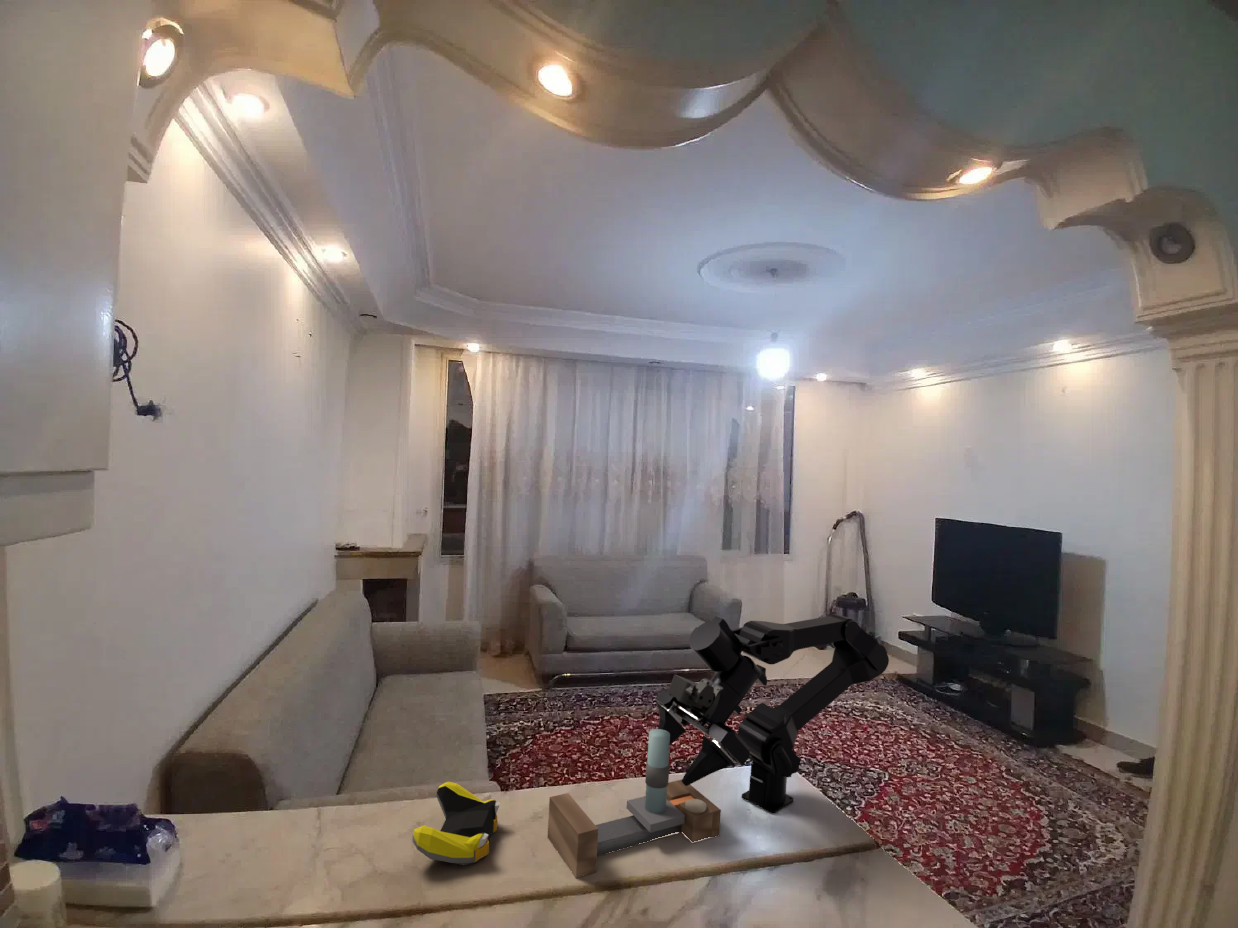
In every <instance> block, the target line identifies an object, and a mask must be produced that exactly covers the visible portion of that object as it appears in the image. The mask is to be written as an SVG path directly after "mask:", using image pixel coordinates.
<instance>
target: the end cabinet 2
mask: <svg viewBox="0 0 1238 928" xmlns="http://www.w3.org/2000/svg"><path fill="white" fill-rule="evenodd" d="M687 796H692V797H693V798H694V799H689V800H687V801H686V802H683V803H679V808H678V810H679V811H680V812H682V813H683V814H684V815H685V820H684V824H681V832H683V833H684V834H685V835H686V836H687V837H688V838H689V839H690V840H691V841H692V842H694V841H698V840H701V839H704V838H708V837H714V838H716V837H715V836H717V837H719V836H720V830H721V829H720V828H721V812H722V810H721V808H720V807H718V806H717V805H715V804H714V803H713V802H712V801H711V800H710V799H709V798H707V797H706V796H705V795H703V793H701V792H700V791H699V790H697V788H695V787H694V786H692V784H690V785H688V786H685V785H684V784H683V783H682V779H678V780H674V781H668V786H667V800H668V801H671V800H675V799H679V798H683V797H687ZM718 835H719V836H718Z"/></svg>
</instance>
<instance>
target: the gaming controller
mask: <svg viewBox="0 0 1238 928" xmlns="http://www.w3.org/2000/svg"><path fill="white" fill-rule="evenodd" d="M436 798H437V799H436V800H437V801H438V803H439V806H440V808H441V810H442V814H443V816H444V819H445V820H444V822H443V825H442V826H441V828H440V830H439V829H436V828H434V827H430V826H427V825H425V824H424V825H421V826H419V827H417V828H415V829H413V833H412V843H413V845H414V846H415V848H416V850H417V851H419V852H420V853H422V854H423V855H424V856H425V857H427V858H428V859H429V860H432V861H438V862H439V861H441V862H447V863H451V864H458V865H460V866H468V865H470V864H473V863H477V862H478V861H480V860H481V859H482V858H484V857H485V856H488V855H489V852H490V843H491V840H492V837H493V835H494V833H495V832H497V831H498V815H497V814H498V811H499V808H500V803H501V802H500V801H497V800H496V799H491V798H490V799H488V800H481V799H480V798H479V797H477V796H476V795H475V794H473V793H472V792H470V791H469V790H468V789H466V788H464V787H463V786H461V785H460V784H458V783H455V782H452V781H451V782H450V781H446V782H444V783H443V784H441V785H439V786H438V788H437V790H436Z"/></svg>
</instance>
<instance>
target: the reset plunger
mask: <svg viewBox="0 0 1238 928" xmlns="http://www.w3.org/2000/svg"><path fill="white" fill-rule="evenodd" d="M689 799H694V798H693V797H692V796H687V797H683V798H679V799H675V800H671V801H669V802H671V803H672V804H673V805H674V806H675V807H676V808H677V809H678V808H679V803H683V802H686V801H687V800H689Z"/></svg>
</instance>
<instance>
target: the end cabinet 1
mask: <svg viewBox="0 0 1238 928" xmlns="http://www.w3.org/2000/svg"><path fill="white" fill-rule="evenodd" d="M548 803H549V804H548V820H547V823H548V824H547V839H548V840H549V842H550V843H551V844H553V845H552V846H553V848H554V849H555V850H556V851H558V852H557V853H558V855H559V856H560V857H561V859H562V860H563V862H564V863H565V864H566V865H565V866H567V868H568V869H569V870H570V872H571V871H572V872H571V874H572V875H573V876H574V878H575V877H576V878H575V879H578V878H581V877H580V876H582V877H584V876H583V875H585V876H588V875H591V874H590V873H592V874H594V872H595V873H596V872H597V862H598V861H597V860H598V859H597V858H598V856H597V844H598V828H597V827H596V825H597V824H595V823H594V822H593V820H592V819H591V818H590V817H589V816H588V815H587V813H586V812H585V811H584V810H583V808H581V806H580V804H578V803H577V802H576V800H575V799H574V798H573V797H572V795H570V793H569V792H565V793H562V794H558V795H554V796H549V802H548Z"/></svg>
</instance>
